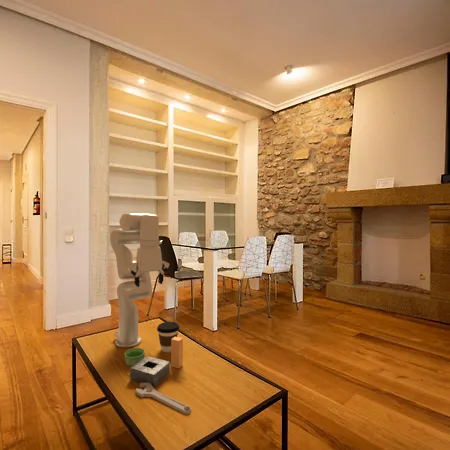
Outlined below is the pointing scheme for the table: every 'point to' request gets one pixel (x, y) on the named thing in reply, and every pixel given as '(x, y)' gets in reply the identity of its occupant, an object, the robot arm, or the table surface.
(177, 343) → the orange square peg
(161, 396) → the adjustable wrench
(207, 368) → the table surface
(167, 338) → the coffee cup
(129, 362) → the ramekin
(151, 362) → the grey square frame
